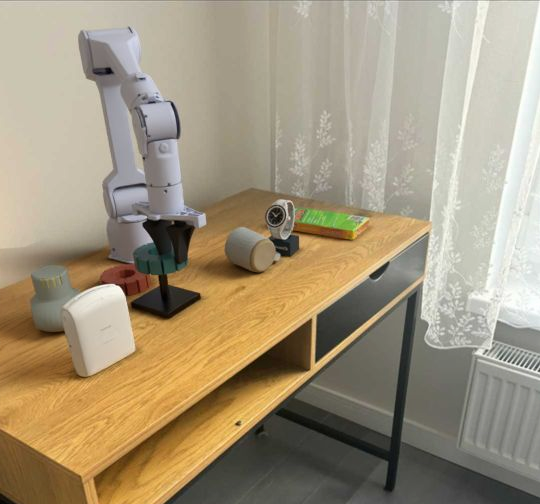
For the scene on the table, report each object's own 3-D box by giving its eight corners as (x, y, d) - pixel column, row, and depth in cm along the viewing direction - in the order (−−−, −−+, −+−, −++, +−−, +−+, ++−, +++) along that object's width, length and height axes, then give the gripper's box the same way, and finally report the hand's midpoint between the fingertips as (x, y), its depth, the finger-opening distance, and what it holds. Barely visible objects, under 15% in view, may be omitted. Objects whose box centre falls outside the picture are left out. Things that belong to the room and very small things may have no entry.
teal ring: (124, 268, 107) (122, 254, 105) (159, 250, 113) (157, 237, 112) (164, 279, 102) (162, 265, 101) (198, 260, 109) (197, 246, 107)
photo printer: (86, 381, 91) (69, 307, 84) (70, 371, 93) (51, 299, 87) (140, 352, 97) (128, 281, 91) (123, 343, 100) (110, 274, 93)
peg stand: (131, 307, 111) (124, 271, 107) (164, 288, 117) (159, 253, 113) (168, 319, 107) (163, 281, 103) (201, 298, 113) (197, 262, 109)
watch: (263, 256, 129) (260, 205, 123) (280, 242, 135) (278, 194, 129) (286, 260, 127) (285, 208, 121) (303, 246, 133) (302, 196, 127)
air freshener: (35, 315, 110) (21, 264, 105) (82, 306, 112) (70, 255, 107) (39, 343, 101) (24, 289, 96) (90, 332, 103) (78, 279, 98)
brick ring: (92, 290, 118) (90, 277, 117) (126, 272, 125) (124, 260, 123) (127, 300, 114) (124, 287, 112) (160, 281, 120) (158, 269, 119)
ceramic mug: (252, 279, 119) (250, 241, 115) (225, 268, 124) (222, 231, 120) (290, 263, 125) (289, 227, 122) (262, 253, 131) (261, 218, 127)
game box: (352, 244, 135) (271, 226, 143) (368, 230, 142) (291, 214, 150) (353, 230, 133) (271, 214, 141) (370, 217, 140) (291, 202, 149)
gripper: (113, 183, 99) (127, 260, 106) (182, 195, 92) (191, 277, 99) (143, 172, 104) (154, 246, 111) (210, 182, 97) (218, 261, 104)
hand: (174, 260), depth 106 cm, fingers closed on teal ring, 3 cm apart
